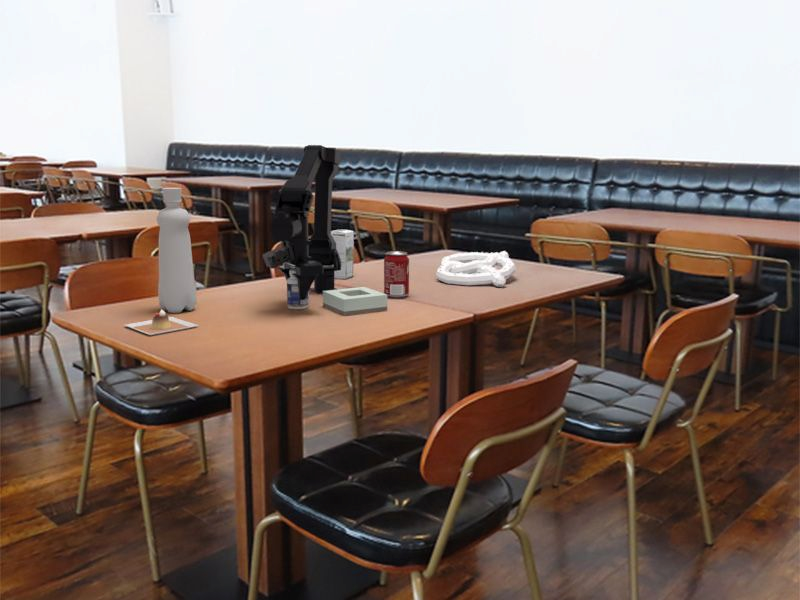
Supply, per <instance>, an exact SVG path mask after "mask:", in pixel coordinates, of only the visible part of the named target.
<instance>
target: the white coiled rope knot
mask: <svg viewBox="0 0 800 600" xmlns="http://www.w3.org/2000/svg"><path fill="white" fill-rule="evenodd" d="M509 256H510V255H509V253H508V252H507V251H506V250H503V251H500V252H497V251H496V252H490V253H489V252H484V251H481V252H478V251H474V252H473V251H471V252H466V251H465V252H457V253H452V254H451V255H450V254H449V255H447V256H444V257H442V259H441V263H440V266H439V267H438V268H437V270H436V273H435V277H436V279H437V280H439V281H441V282H443V283H445V284H449V285H458V286H459V285H460V286H467V287H468V286H477V285H478V286H479V285H480V286H481V285H482V286H483V285H491V284H493V285H494V286H495V287H498V288H502V287H504V286H505V285H506V282H507V280H508V279H509V278H510V277H512V275H513V274H514V273H515V272H516V270H517V266H516V264H515V263H514V262H513V261H512V259H511V258H510V257H509ZM495 266H497V267H500V268H501V269H500V268H499V269H498V268H496V267H495Z"/></svg>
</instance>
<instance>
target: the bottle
mask: <svg viewBox="0 0 800 600" xmlns="http://www.w3.org/2000/svg"><path fill="white" fill-rule="evenodd" d="M182 189H183V188H182V187H162V188H161V191H162V197H163V198H162V199H163V201H162V202H163V203H164V204H165V205H166V207H164V208H163V209H160V210H158V214H157V216H156V218H155V219H156V222H157V225H158V227H159V233H158V284H157V285H158V286H157V292H158V293H157V294H158V295H157V296H158V306H159V307H160V308H161V309H162V310H163V311H164V312H165V311H167V312H168V313H170V314H179V313H182V311H183V310H185V311H189V312H190V311H193V310H194V309H195V307H196V305H197V303H198V301H197V285H196V281H195V275H194V274H195V273H194V264H193V254H192V252H193V251H192V243H191V235H190V234H191V233H190V231H189V225H190V221H191V216H190V213H188V210H186V209H184V208H182V207H180V204H181V202H183V201H182V191H183V190H182Z"/></svg>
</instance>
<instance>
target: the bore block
mask: <svg viewBox="0 0 800 600" xmlns="http://www.w3.org/2000/svg"><path fill="white" fill-rule="evenodd" d="M337 289H338V288H337ZM322 307H323V308H325V307H326V309H328V310H330V311H333V312H335V313H337V314H339V315H342V316H344V317H346V316H352V315H353V316H354V315H360V314H361V315H362V314H369V313H378V312H386V311H385V310H387V311H388V297H387V294H384V292H380V291H377V290H374V289H372V288H369V287H367V286H360V287H350V288H342V289H341V288H340V289H338V290H329V291H323V293H322Z"/></svg>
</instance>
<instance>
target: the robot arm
mask: <svg viewBox="0 0 800 600" xmlns="http://www.w3.org/2000/svg"><path fill="white" fill-rule="evenodd" d="M341 155H342V154H341V152H340V151H338V150H337V148H336V147H326V146H324V145H322V144H308V145H305V146H303V155H302V156H301V157H302V158H301V160H300V161H299V164H298V166H297V168H296V171H295V173H294V175H293V177H291V178H290V179H288V180H286V181H285V183H283V185H282V187H281V189H280V190H279V192H278V197H277V200H276V205H275V210H274V214H276V215H277V217H276V218H275V219H274V220H273V221H272V223H271V225H270V228H269V229H270V233H271V236H272V237H273V238H274V239H275V240H276V241H279V242H281V244H280V245H281V246H279V247H275V248H274V249H272V250H270V251H267V252H264V253H263V254H262V258H263V260H264V264H265V266H266V267H267V268H270V269H273V270H274V269H277V270H278V271H280V272H281V273H282V274H283V276H284V277H285V280H286V281H287V279H288V278H290V274H289V270H290V269H295V272H296V273H294V274H292V275H293V276H294V277H295V278H296V279H297V282H298V289H299V295H300V299H301V300H305V298H306V296H307V294H309V291H311V292H314V293H316V294H323V291H329V290H338V288H336V287H335V278H334V271H337V270H341V259H340V256H339V254H338V251H337V249H336V242H335V240H334V239H333V237H332V235H331V231H332V203H333V201H332V200H333V197H332V196H333V180H334V179H335V177H336V176H337V175H338V173H339V168H340V167H339V166H340V164H341V161H342V158H341V157H342V156H341ZM314 182H315V183H314ZM313 183H314V194H313V192H312V185H313ZM313 202H314V206H313V207H314V211H313V213H314V214H313V215H314V217H313V219H314V220H313V233H312V235H311V236H310V238H309V218H308V217H309V216H310V213H309V212H310V211H311V209H312V204H313ZM332 265H334V266H332ZM312 285H313V287H312Z"/></svg>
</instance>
